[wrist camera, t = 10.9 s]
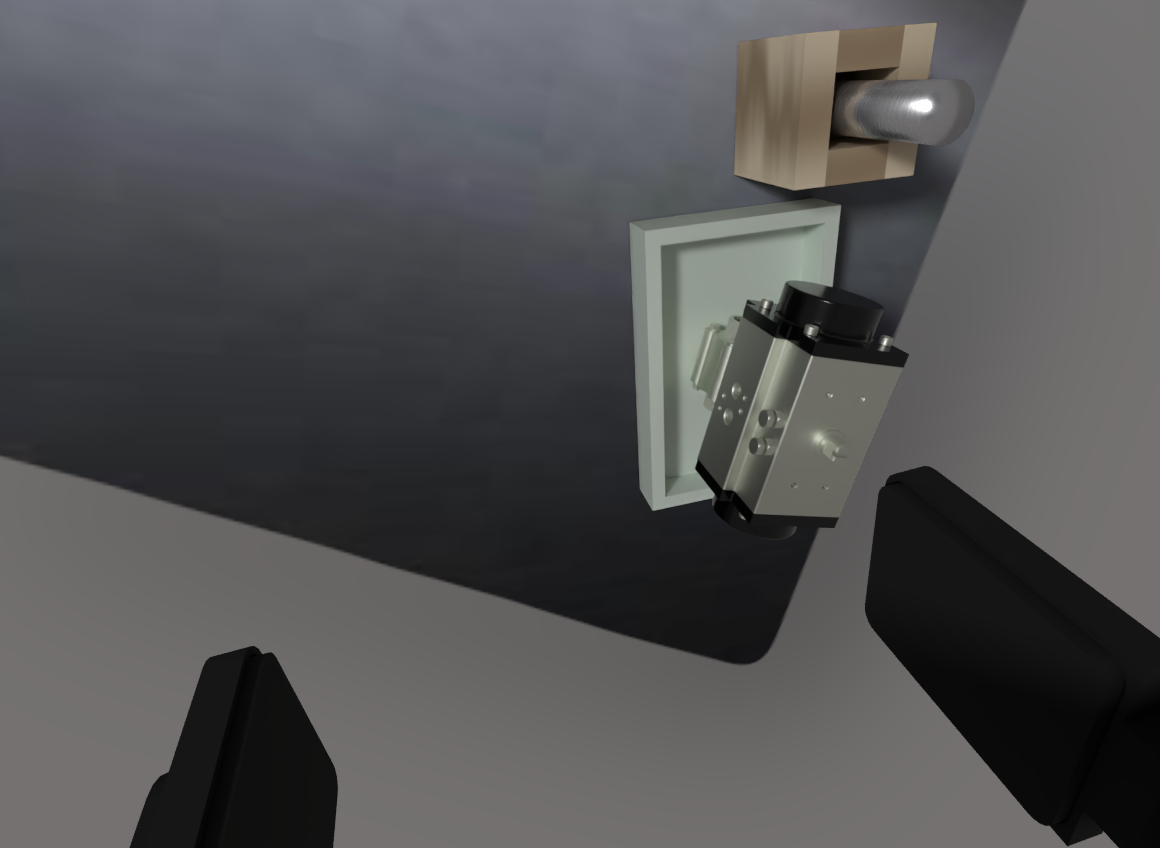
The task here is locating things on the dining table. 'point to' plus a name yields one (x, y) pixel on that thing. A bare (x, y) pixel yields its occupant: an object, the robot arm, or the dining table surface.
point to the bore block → (820, 104)
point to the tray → (707, 315)
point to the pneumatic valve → (792, 406)
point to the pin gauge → (902, 110)
